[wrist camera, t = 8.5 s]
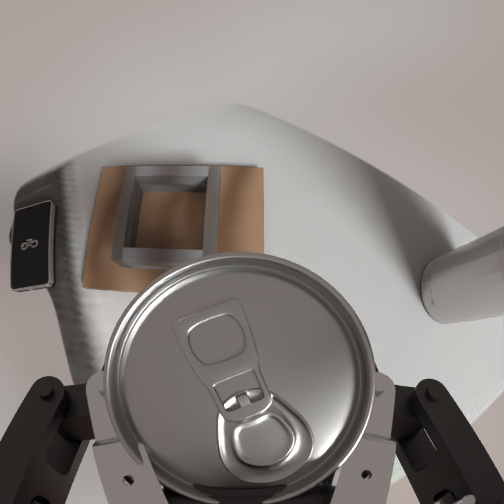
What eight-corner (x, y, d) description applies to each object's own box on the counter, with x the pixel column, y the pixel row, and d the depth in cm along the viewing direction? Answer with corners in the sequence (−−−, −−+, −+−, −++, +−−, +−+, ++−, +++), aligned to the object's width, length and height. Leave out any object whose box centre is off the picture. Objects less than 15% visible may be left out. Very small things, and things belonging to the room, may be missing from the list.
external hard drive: (59, 205, 33) (52, 199, 31) (58, 288, 30) (49, 285, 28) (22, 215, 32) (14, 210, 30) (19, 294, 29) (10, 291, 27)
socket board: (262, 172, 36) (267, 149, 31) (262, 297, 32) (268, 290, 27) (106, 171, 34) (93, 151, 29) (86, 288, 30) (66, 280, 25)
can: (205, 422, 15) (170, 546, 4) (162, 323, 17) (49, 296, 5) (305, 380, 17) (424, 438, 5) (262, 283, 18) (318, 189, 6)
